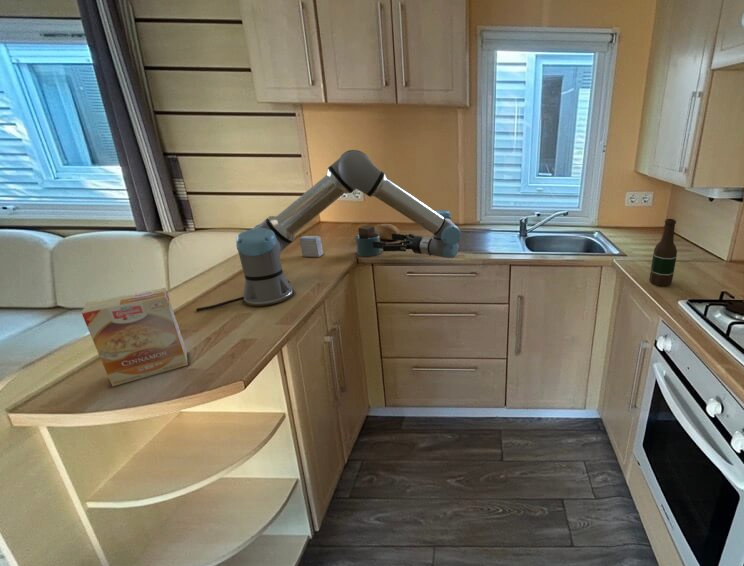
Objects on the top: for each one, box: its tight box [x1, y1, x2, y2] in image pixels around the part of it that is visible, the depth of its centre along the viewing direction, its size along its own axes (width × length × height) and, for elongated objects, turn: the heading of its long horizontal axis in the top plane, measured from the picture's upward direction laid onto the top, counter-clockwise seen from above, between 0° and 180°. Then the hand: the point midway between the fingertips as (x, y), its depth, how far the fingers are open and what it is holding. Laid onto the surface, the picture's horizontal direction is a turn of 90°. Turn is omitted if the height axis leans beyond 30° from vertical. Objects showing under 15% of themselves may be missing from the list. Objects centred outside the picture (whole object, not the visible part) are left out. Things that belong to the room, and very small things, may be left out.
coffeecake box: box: [81, 287, 188, 387], centre depth 98 cm, size 15×7×20 cm, turn 126°
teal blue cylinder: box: [354, 233, 382, 258], centre depth 185 cm, size 11×11×8 cm
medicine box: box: [298, 235, 324, 258], centre depth 182 cm, size 8×4×9 cm, turn 84°
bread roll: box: [374, 223, 401, 241], centre depth 206 cm, size 10×15×8 cm, turn 72°
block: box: [357, 225, 375, 239], centre depth 183 cm, size 5×5×5 cm
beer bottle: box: [649, 218, 678, 288], centre depth 146 cm, size 8×8×24 cm
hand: (383, 240), depth 181 cm, fingers open, 13 cm apart
